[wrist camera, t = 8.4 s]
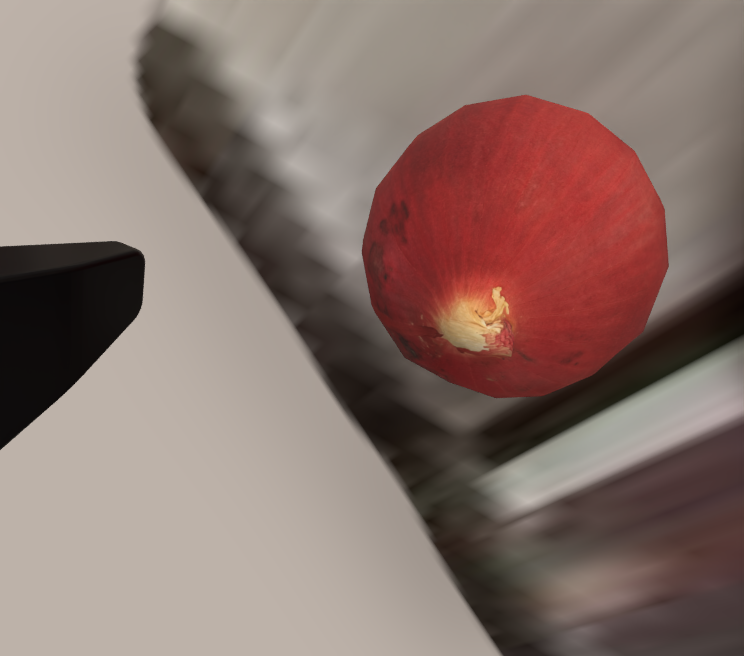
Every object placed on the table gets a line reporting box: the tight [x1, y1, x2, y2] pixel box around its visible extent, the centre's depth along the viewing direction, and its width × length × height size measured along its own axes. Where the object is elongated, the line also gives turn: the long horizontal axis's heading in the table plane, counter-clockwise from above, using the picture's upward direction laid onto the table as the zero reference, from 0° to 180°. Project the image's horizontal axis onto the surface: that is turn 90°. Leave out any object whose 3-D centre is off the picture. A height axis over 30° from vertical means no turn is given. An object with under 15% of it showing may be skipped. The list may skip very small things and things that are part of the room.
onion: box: [362, 95, 669, 398], centre depth 14 cm, size 6×6×8 cm
